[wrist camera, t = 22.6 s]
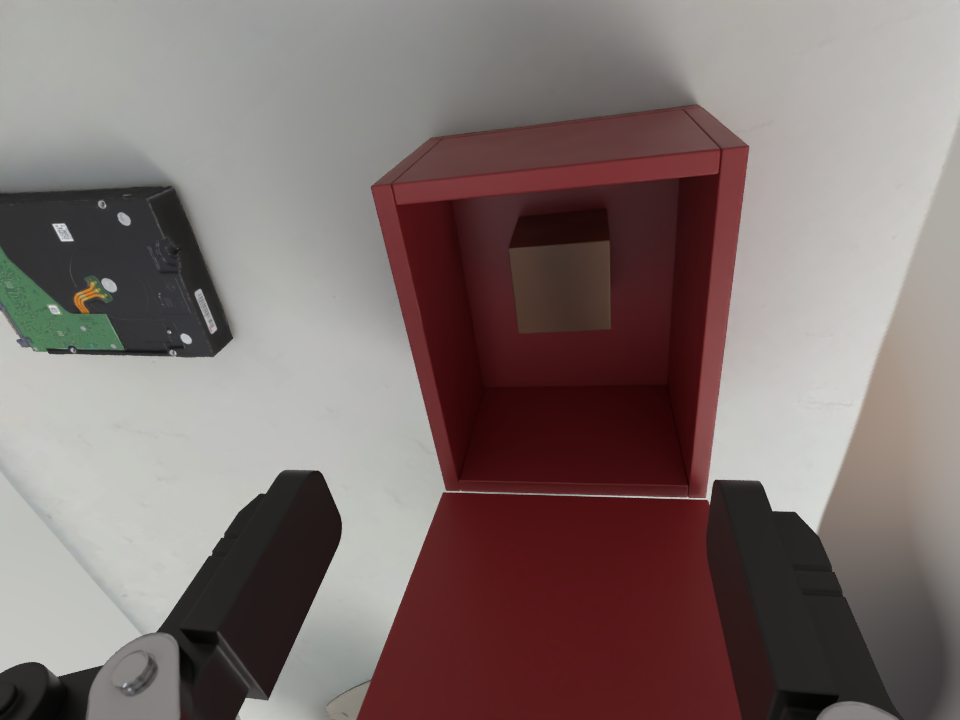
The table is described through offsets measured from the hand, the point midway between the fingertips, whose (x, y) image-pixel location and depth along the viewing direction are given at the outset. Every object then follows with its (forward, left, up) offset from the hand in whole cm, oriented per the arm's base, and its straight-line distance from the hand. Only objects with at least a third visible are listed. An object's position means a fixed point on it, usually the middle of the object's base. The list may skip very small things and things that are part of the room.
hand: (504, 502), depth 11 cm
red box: (+2, -3, -20) cm, 20 cm away
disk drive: (-25, -14, -20) cm, 35 cm away
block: (+1, -2, -19) cm, 19 cm away
